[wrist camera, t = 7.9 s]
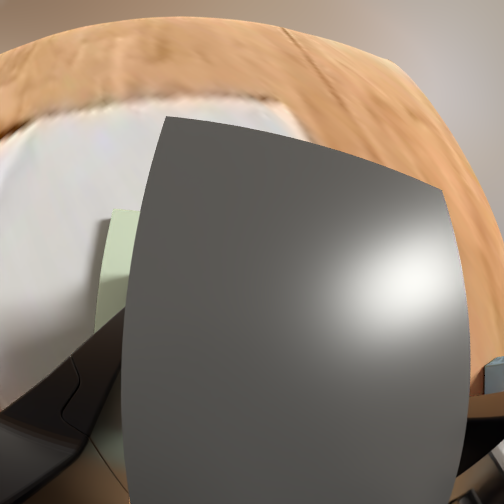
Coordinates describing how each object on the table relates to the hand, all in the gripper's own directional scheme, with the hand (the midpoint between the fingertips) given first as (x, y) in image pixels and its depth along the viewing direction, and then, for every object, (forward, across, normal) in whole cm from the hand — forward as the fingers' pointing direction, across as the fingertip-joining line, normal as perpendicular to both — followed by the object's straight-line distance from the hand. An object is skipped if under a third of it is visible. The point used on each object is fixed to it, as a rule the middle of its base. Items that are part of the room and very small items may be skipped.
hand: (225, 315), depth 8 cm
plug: (+4, 0, +6) cm, 7 cm away
